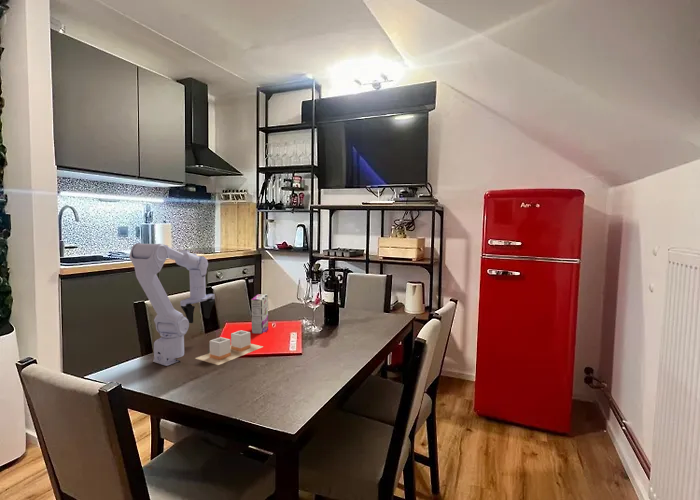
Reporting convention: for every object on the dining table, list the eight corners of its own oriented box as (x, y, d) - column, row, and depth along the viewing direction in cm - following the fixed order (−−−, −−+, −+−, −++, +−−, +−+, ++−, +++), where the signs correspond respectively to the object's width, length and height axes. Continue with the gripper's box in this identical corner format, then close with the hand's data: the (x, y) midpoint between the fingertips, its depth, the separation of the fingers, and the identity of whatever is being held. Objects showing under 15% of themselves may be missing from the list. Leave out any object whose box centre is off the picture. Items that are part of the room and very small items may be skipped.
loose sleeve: (219, 359, 134) (219, 343, 133) (209, 357, 136) (209, 340, 136) (230, 355, 138) (230, 339, 137) (220, 353, 140) (220, 337, 140)
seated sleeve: (240, 351, 142) (240, 335, 142) (231, 349, 145) (231, 333, 144) (250, 347, 147) (250, 332, 146) (241, 345, 149) (240, 330, 149)
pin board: (218, 369, 129) (218, 355, 129) (194, 362, 135) (194, 348, 135) (263, 350, 148) (263, 337, 148) (241, 344, 154) (241, 332, 154)
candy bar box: (257, 329, 176) (257, 294, 174) (268, 329, 176) (268, 294, 174) (250, 336, 165) (250, 299, 163) (262, 337, 165) (262, 299, 163)
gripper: (188, 290, 142) (189, 326, 143) (219, 284, 154) (220, 317, 156) (176, 288, 145) (177, 323, 147) (207, 282, 158) (208, 315, 159)
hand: (198, 320), depth 151 cm, fingers open, 7 cm apart
